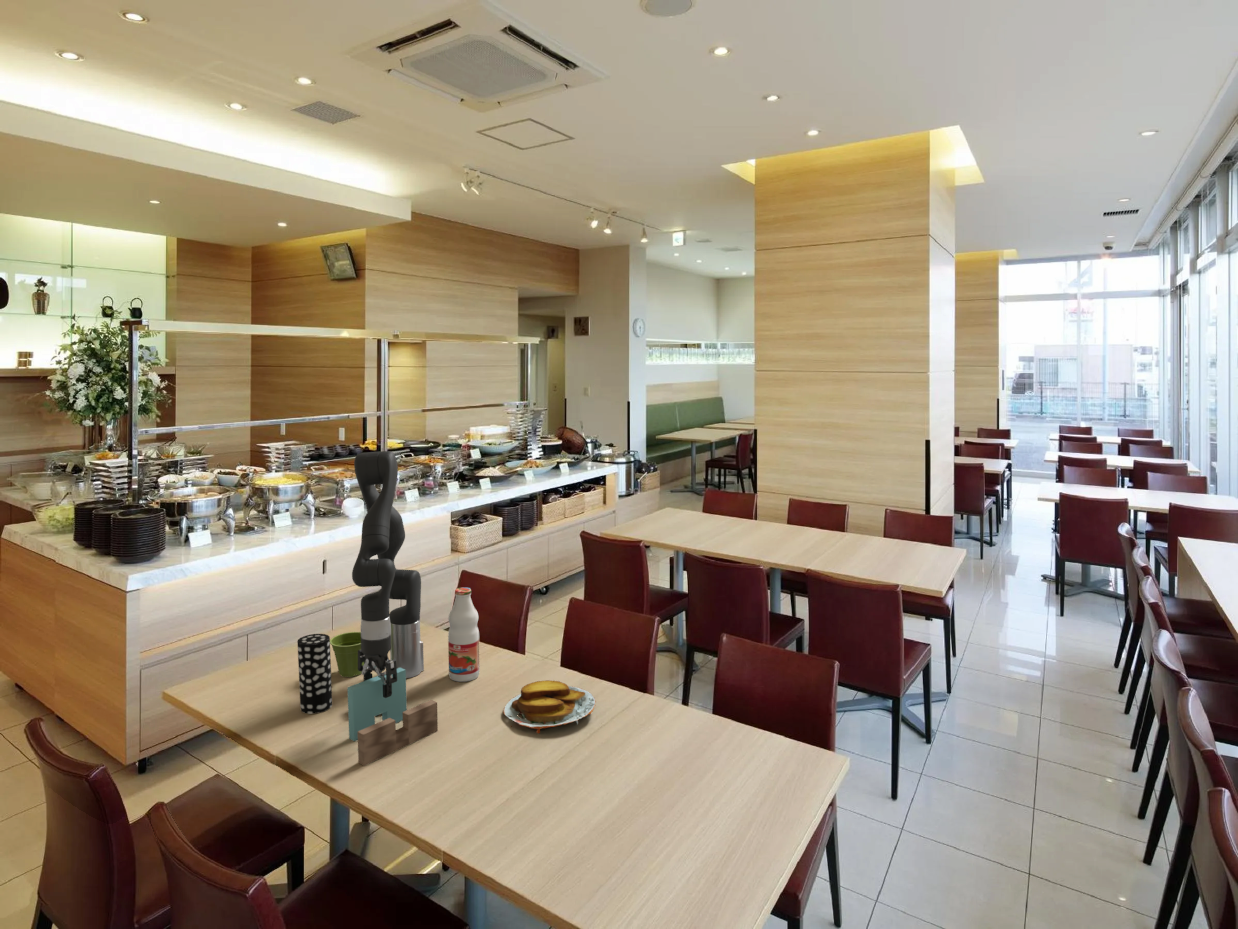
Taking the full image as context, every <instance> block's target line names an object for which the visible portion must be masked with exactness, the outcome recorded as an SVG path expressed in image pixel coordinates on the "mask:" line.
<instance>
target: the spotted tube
mask: <svg viewBox="0 0 1238 929" xmlns="http://www.w3.org/2000/svg"><path fill="white" fill-rule="evenodd" d="M330 640H331V637H330V635H329V634H325V633H312V634H307V635H304V636H301V637H299V639H297V658H298V659H297V660H298V661H297V663H298V664H297V665H298V680H299V681H298V682H299V683H298V684H299V701H300V703H299V707H300V712H301V713H304V714H308V715H312V714H320V713H324V712H326V711H328V710H329V709H331V708H332V707H333V688H332V687H333V686H332V685H333V684H332V683H333V682H332V666H331V665H332V661H331V644H330Z"/></svg>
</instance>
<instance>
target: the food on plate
mask: <svg viewBox="0 0 1238 929" xmlns="http://www.w3.org/2000/svg"><path fill="white" fill-rule="evenodd" d="M520 689H521V690H520V694H517V695H515V696H513V697H512V698H511V699H509V700H508V702H507V703H506V704H505V706H504V707H503V715H504V716H506V717H507V718H508V719H510V720H512V722H513V721H514V722H515V723H517V724H518V725H519V726H522V727H527V728H529V729H534V730H536V731H535V732H536V734H540V733H541V729H548V728H554V727H558V726H562V725H568V724H571V723H573V722H576V725H578V724H579V720H581V719H582V718H585V717H587V716H588V715H592V712H594V709H595V707H596V703H597V701H596V700H595V698H596V697H594V695H593V694H592V693H591V692H589V691H588V690H585V689H583V688H581V687H575V686H573V685H568V684H566V683H564V682H562V681H559V680H550V679H549V680H538V681H533V682H530V683H527V684H525V685H524V686H522V687H521V688H520ZM518 713H520V714H519V715H521V717H522V716H523V717H522V718H521V717H520V716H519V715H518ZM517 715H518V716H519V717H518V716H517ZM511 727H513V725H510V728H511Z"/></svg>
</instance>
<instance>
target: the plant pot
mask: <svg viewBox="0 0 1238 929" xmlns="http://www.w3.org/2000/svg"><path fill="white" fill-rule="evenodd" d="M330 646H331V647H332V650H333V652H334V656H335V662H336V665H337V666H336V667H337V669H338V670H337V671H338V672H339V673H338V674H339V675H340V676H341V677H343V678H354V677H355V676H359V675H362V671H358V650H361V631H350V632H343V633H340V634H337V635H335V636H333V637H332V638H330ZM363 665H364V662H362V666H363Z"/></svg>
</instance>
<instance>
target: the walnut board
mask: <svg viewBox="0 0 1238 929" xmlns="http://www.w3.org/2000/svg"><path fill="white" fill-rule="evenodd" d="M402 713H403V720H402V727H400V728H397V727H396V726H397V725H396V724H397V723H396V722H395V720H393V719H391V718H388V719H385V720H383V721H382V720H380V721H379V722H375V724H374V725H371V726H369V727H367V728H365V729H362V730H360V731H358V732H357V735H358V740H357V751H358V752H357V755H358V756H357V757H358V758H357V760H358V761H357V762H358V764H360V765H362V766H363V767H365V766H367V765H369V764H371V763H373V762H375V761H377V760H380V759H381V758H384V757H386V756H388V755H390V754H392V753H395V752H396V751H398V750H401V749H403V748H405V747H407V746H409V745H411V744H412V743H415V742H417V741H420V740H421V739H423V738H426V737H428V736H430V735H432V734H435V733H436V732H438V731H439V727H438V726H439V725H438V724H439V722H438V701H436V700H433V699H430V700H428V701H424V702H423V703H421V704H418V705H416V706H413V707H411V708H409V709H407V710H406V711H404V712H402Z"/></svg>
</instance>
